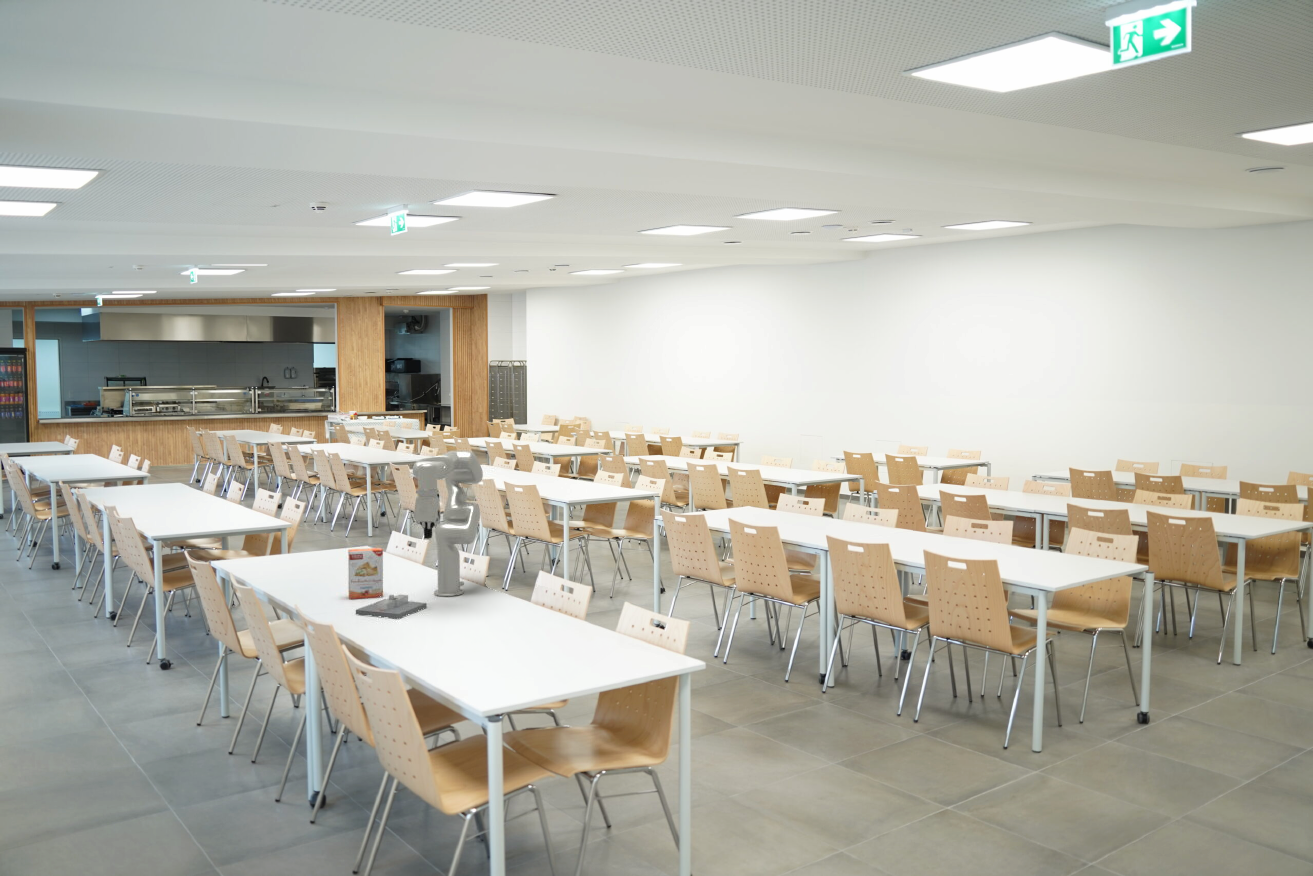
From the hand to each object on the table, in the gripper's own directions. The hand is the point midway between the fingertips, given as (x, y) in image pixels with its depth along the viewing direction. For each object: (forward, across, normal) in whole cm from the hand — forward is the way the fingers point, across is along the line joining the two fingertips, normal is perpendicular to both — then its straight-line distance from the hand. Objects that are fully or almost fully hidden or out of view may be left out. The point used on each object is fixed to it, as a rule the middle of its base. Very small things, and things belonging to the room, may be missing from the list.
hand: (428, 538), depth 403 cm
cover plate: (+29, -11, -10) cm, 33 cm away
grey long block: (+27, -11, -10) cm, 31 cm away
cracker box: (+29, -36, +8) cm, 47 cm away
